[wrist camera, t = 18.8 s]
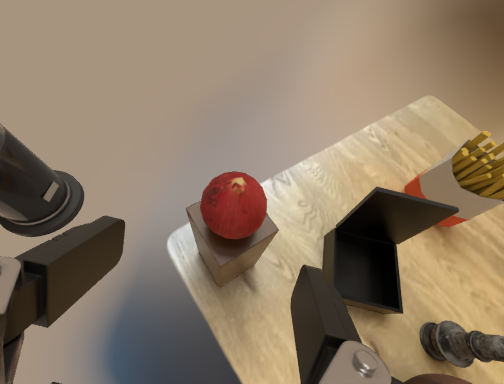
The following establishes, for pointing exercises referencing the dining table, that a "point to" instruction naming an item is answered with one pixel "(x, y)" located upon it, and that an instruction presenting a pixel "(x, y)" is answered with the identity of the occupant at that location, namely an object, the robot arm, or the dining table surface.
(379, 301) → the box
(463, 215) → the french fries container
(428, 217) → the box lid
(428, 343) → the grey chess piece
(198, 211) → the pedestal
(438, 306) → the dining table surface
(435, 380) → the wooden sphere
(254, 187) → the pomegranate
